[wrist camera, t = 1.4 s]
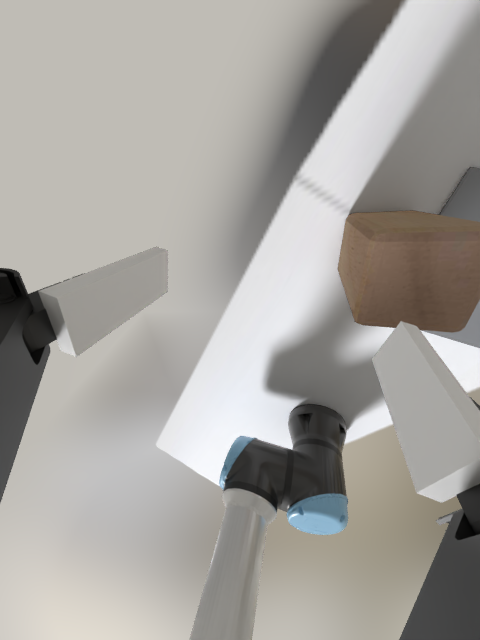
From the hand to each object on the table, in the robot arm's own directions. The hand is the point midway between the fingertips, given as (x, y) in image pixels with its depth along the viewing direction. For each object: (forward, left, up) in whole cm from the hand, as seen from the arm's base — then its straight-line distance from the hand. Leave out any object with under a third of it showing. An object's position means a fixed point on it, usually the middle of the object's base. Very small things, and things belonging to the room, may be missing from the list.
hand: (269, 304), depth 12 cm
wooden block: (+1, -13, -32) cm, 34 cm away
